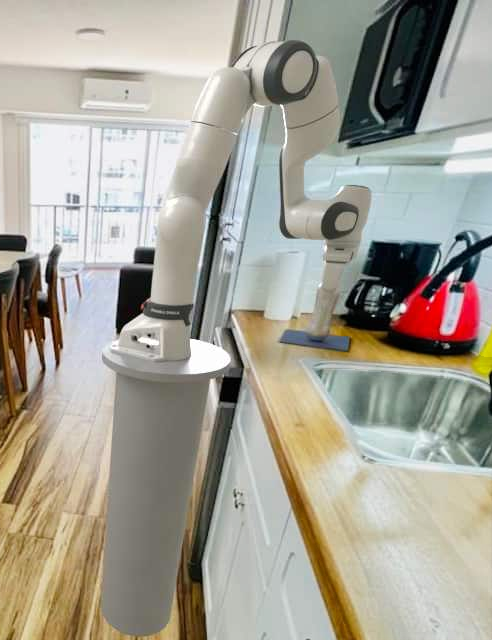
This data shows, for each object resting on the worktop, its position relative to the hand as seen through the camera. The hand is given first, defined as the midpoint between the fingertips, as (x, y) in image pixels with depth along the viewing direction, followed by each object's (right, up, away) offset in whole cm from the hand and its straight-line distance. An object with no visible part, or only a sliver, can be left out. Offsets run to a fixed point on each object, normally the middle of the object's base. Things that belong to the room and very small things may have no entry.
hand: (325, 302), depth 140 cm
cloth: (0, -10, +6) cm, 12 cm away
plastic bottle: (0, -10, +6) cm, 11 cm away
